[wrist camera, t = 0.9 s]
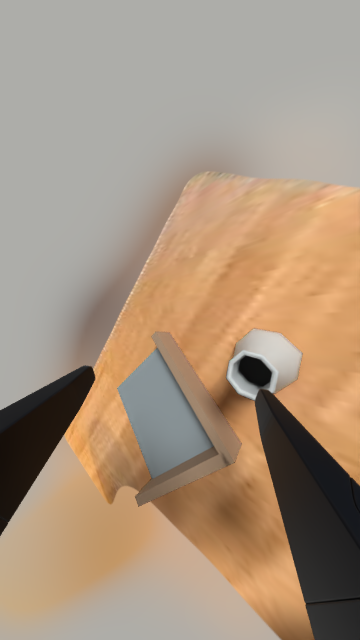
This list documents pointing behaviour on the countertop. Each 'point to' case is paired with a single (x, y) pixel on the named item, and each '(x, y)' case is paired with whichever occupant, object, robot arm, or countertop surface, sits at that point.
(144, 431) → the corner arena
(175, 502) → the countertop surface
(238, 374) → the flask
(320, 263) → the countertop surface
